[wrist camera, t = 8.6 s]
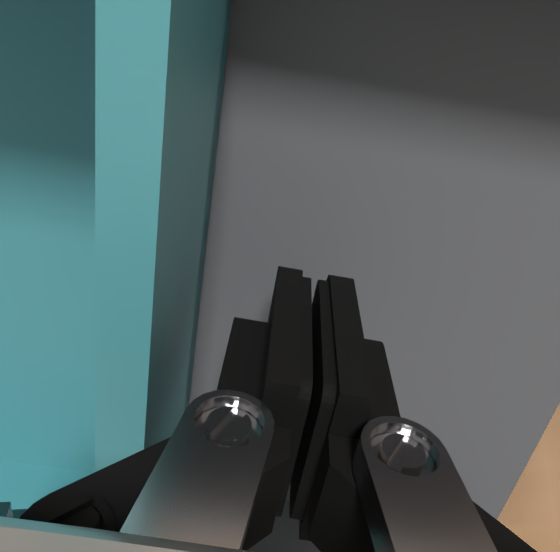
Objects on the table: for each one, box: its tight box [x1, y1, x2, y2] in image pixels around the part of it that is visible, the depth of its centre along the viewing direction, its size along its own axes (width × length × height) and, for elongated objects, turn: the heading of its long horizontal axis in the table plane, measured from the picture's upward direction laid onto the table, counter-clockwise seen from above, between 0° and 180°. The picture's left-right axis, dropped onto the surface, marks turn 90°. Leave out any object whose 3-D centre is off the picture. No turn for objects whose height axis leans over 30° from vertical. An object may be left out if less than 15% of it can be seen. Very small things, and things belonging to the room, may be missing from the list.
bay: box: [188, 0, 560, 552], centre depth 12 cm, size 17×26×4 cm, turn 81°
